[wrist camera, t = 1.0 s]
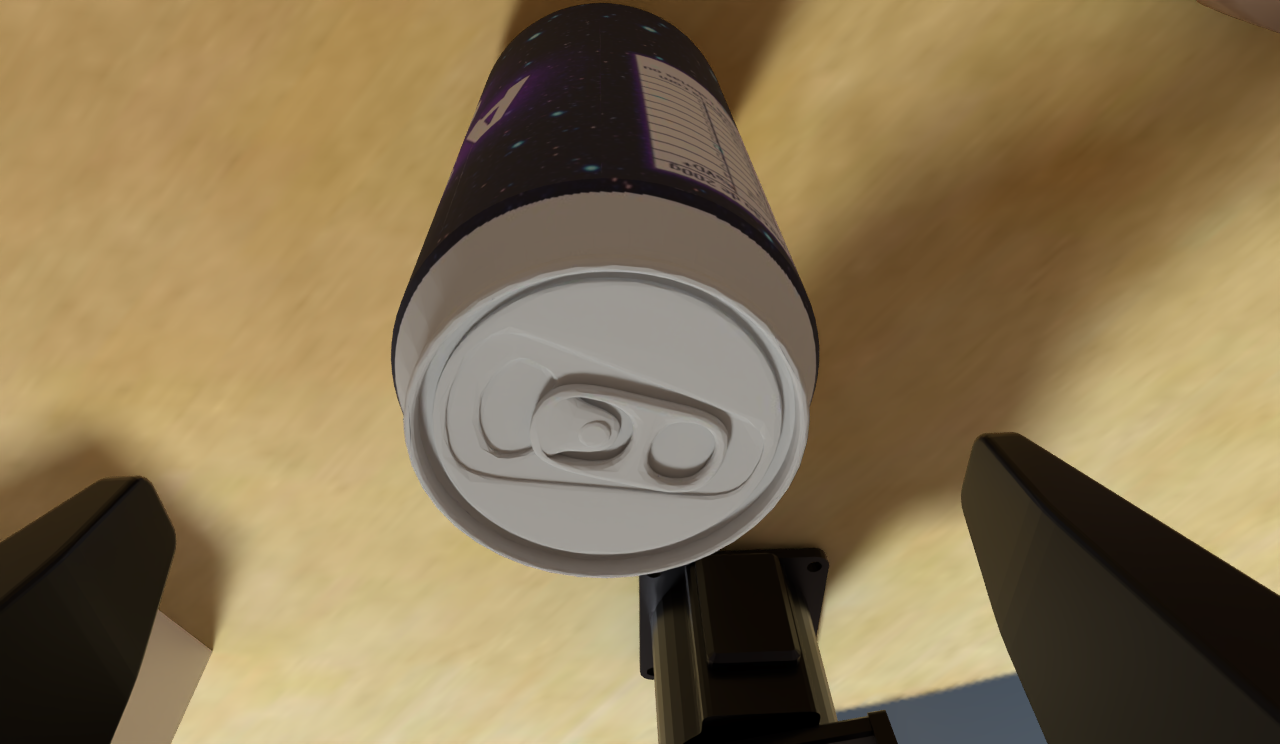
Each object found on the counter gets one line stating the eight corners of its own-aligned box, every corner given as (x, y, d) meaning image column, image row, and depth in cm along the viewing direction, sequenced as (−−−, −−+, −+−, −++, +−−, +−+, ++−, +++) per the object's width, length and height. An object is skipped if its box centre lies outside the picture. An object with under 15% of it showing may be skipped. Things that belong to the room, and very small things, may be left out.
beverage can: (513, -42, 18) (409, 160, 8) (757, 40, 19) (930, 306, 9) (463, 196, 21) (341, 557, 11) (676, 254, 22) (739, 628, 12)
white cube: (-44, 607, 29) (-178, 775, 24) (84, 549, 27) (-29, 714, 22) (93, 697, 32) (0, 862, 27) (214, 649, 31) (139, 813, 26)
